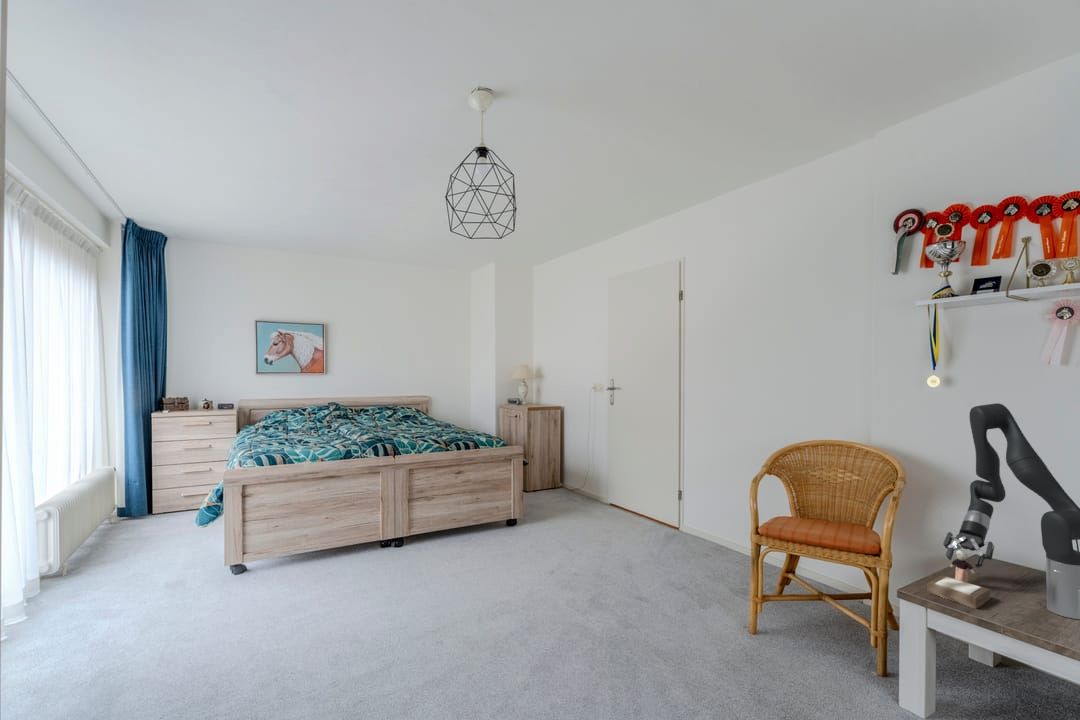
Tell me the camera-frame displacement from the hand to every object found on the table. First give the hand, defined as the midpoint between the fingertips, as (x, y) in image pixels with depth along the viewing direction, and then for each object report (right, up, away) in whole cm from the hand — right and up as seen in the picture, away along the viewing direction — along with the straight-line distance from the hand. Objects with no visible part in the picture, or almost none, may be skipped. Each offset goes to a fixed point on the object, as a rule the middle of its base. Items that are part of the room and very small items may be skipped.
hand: (962, 562), depth 191 cm
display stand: (-9, -8, -9) cm, 15 cm away
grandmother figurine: (-1, -8, -1) cm, 8 cm away
